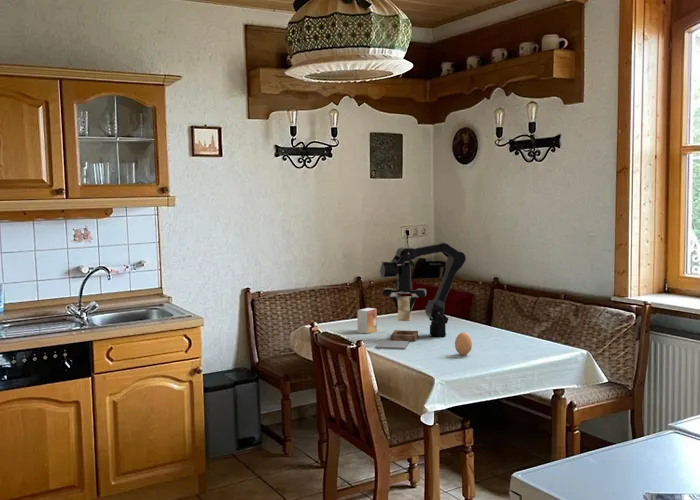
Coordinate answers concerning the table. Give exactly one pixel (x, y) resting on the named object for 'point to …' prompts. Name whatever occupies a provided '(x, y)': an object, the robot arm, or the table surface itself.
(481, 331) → the table surface
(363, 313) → the small box
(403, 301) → the birch block
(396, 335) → the walnut holder
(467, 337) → the egg
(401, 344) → the slate mat
